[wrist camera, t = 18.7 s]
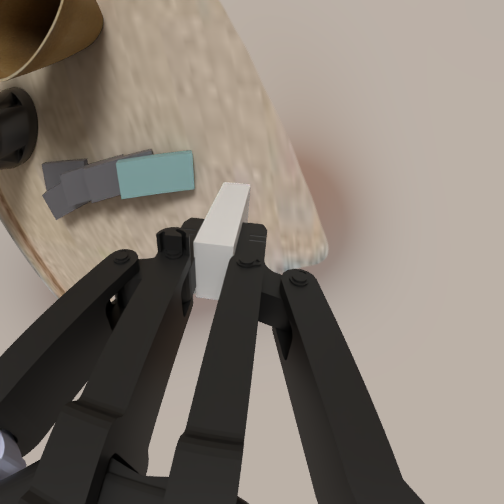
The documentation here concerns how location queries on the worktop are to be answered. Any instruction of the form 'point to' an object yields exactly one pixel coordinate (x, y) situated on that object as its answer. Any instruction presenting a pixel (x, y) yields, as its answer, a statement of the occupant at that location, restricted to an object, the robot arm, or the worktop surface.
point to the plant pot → (44, 32)
